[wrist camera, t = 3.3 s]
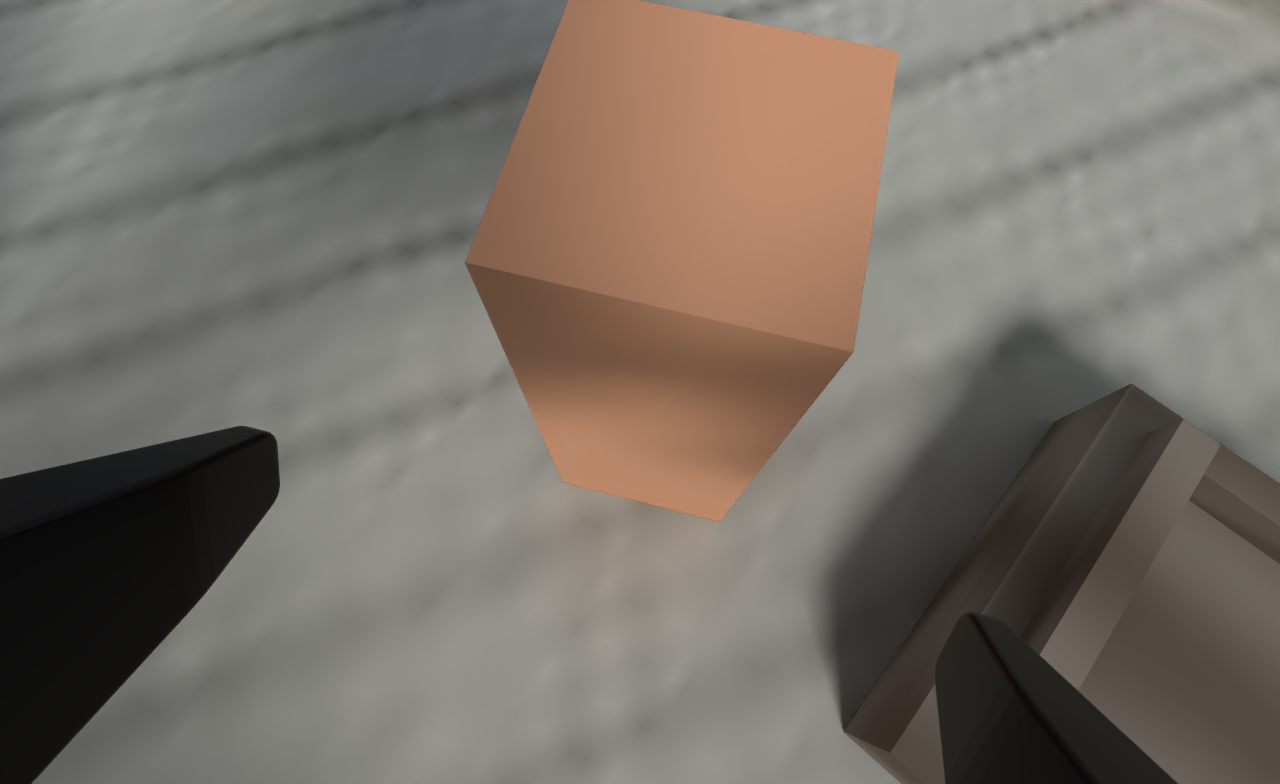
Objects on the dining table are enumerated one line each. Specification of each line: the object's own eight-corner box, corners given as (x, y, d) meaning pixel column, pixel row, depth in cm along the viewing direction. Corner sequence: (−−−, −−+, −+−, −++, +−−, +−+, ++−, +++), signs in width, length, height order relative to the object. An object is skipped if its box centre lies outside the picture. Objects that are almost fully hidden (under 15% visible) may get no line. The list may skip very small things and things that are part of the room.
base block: (1256, 1101, 16) (1501, 1283, 11) (843, 731, 18) (911, 762, 14) (1427, 685, 19) (1669, 701, 15) (1054, 421, 22) (1164, 366, 17)
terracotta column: (719, 521, 20) (853, 351, 8) (562, 482, 21) (464, 262, 8) (749, 374, 22) (899, 51, 10) (604, 340, 22) (574, -13, 10)
